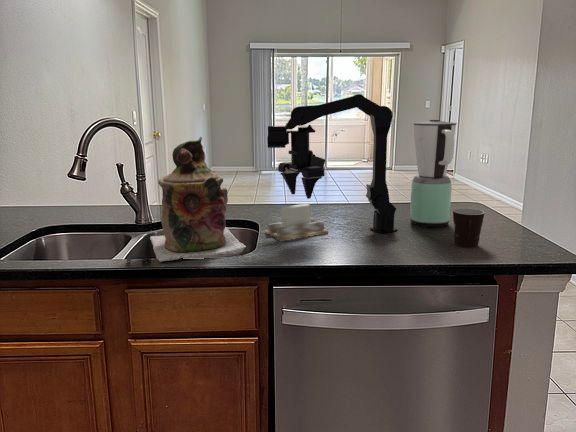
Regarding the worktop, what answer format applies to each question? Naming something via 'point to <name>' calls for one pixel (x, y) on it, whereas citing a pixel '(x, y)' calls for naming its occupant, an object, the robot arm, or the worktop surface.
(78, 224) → the worktop surface
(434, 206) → the mint green blender
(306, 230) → the track base
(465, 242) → the dark brown cup
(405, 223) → the worktop surface
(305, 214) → the door panel
